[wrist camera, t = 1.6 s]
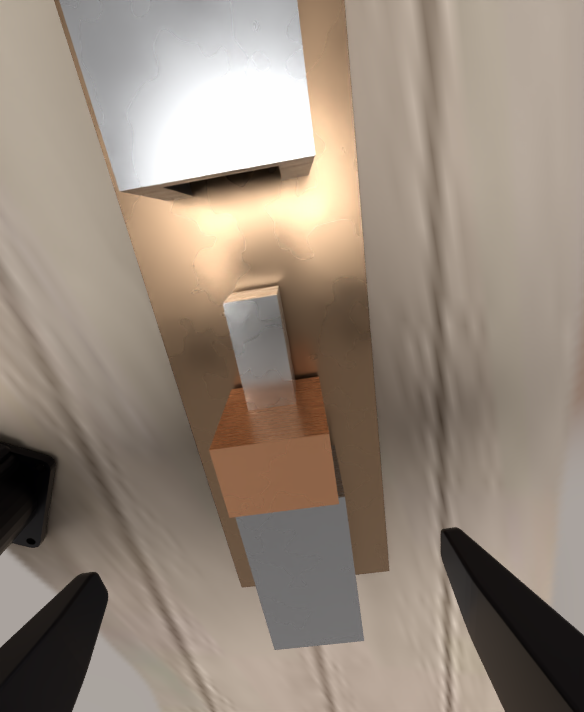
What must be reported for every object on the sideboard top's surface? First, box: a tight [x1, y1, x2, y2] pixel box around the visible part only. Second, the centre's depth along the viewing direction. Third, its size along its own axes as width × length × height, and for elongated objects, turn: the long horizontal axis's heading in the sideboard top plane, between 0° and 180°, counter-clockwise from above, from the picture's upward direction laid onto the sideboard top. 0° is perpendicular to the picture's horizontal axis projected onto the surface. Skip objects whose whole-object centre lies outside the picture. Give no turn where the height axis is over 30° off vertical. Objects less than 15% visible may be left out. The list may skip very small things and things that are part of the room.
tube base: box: [54, 0, 389, 650], centre depth 14 cm, size 28×9×4 cm, turn 9°
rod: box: [209, 286, 339, 518], centre depth 14 cm, size 16×4×4 cm, turn 9°
